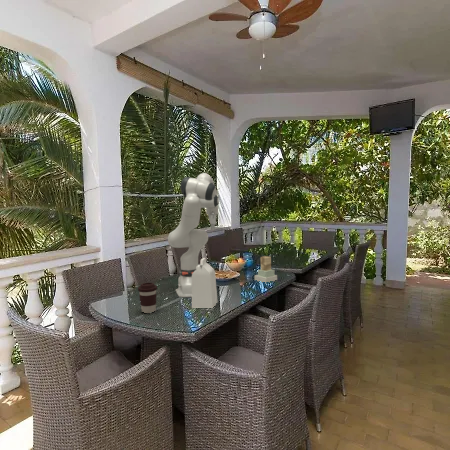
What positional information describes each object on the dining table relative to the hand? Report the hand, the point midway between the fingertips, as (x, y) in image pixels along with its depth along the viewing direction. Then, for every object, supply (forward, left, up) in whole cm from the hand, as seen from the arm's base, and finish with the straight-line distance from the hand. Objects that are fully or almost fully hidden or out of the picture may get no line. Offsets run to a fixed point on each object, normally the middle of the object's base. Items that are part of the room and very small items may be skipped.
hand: (212, 230), depth 262 cm
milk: (-70, +10, -34) cm, 79 cm away
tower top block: (-24, -34, -31) cm, 52 cm away
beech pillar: (-24, -34, -27) cm, 50 cm away
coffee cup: (-75, +40, -34) cm, 92 cm away
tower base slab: (-24, -34, -35) cm, 54 cm away
